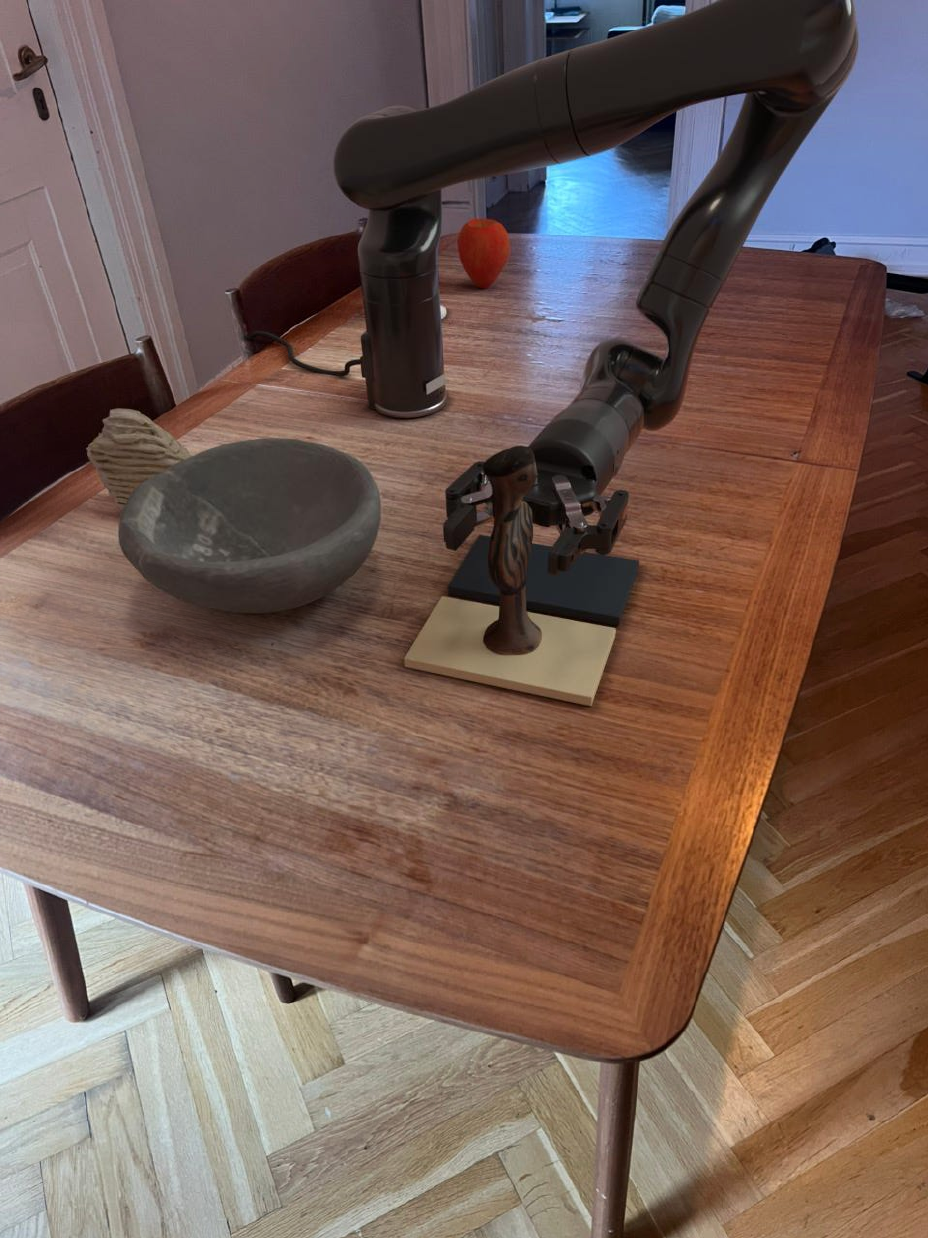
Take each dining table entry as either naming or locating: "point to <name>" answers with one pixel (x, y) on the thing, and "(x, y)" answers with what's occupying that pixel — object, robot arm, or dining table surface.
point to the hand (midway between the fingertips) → (499, 552)
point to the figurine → (511, 550)
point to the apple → (483, 250)
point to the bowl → (253, 525)
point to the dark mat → (555, 583)
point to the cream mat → (551, 670)
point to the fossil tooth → (132, 452)
